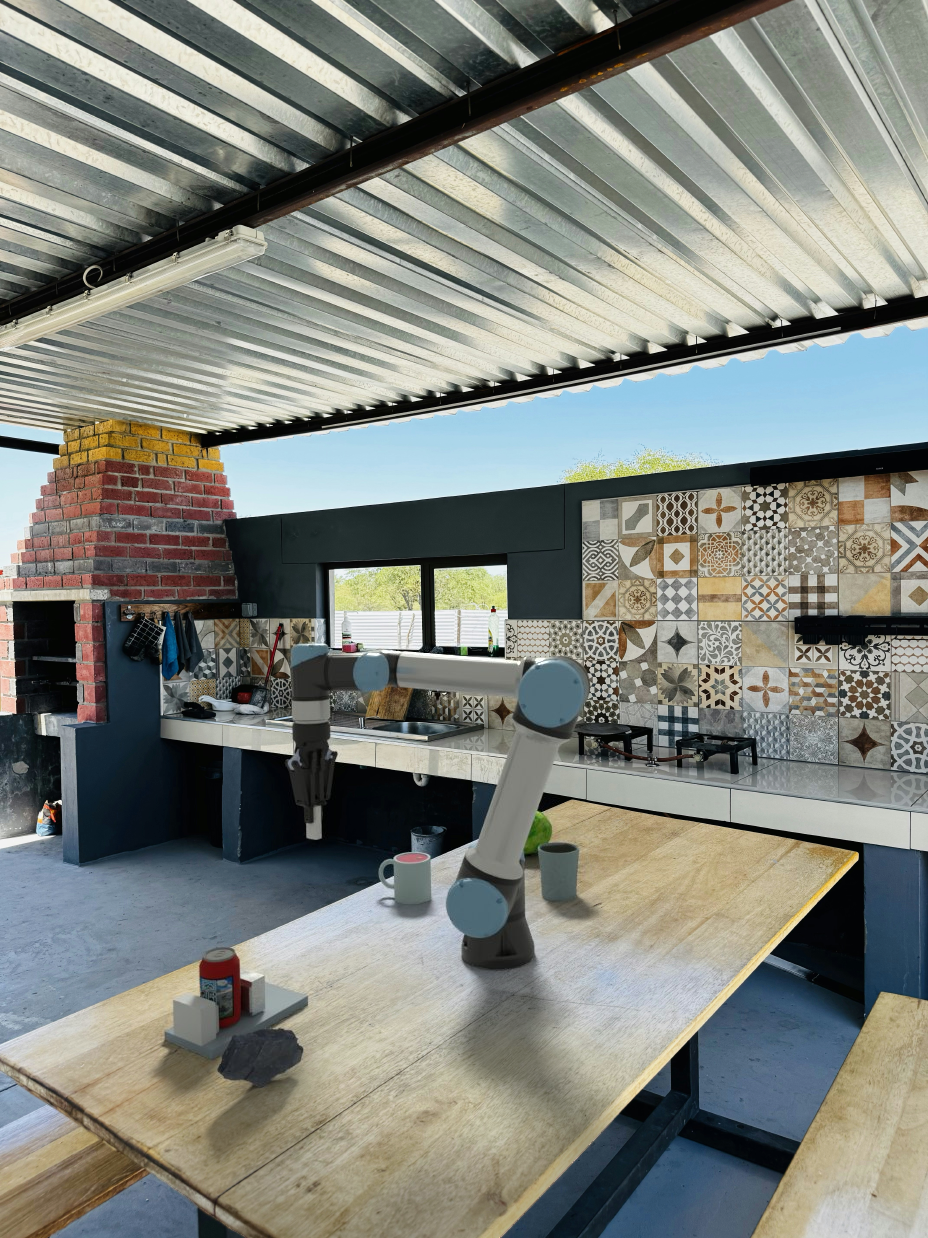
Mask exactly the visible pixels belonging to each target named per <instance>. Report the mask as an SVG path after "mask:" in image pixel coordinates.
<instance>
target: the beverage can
mask: <svg viewBox="0 0 928 1238" xmlns="http://www.w3.org/2000/svg"><path fill="white" fill-rule="evenodd" d="M240 960H241V959H240V957H239V956H238V955H237V953H236V950H235V948H232V947H228V946H220V947H215V948H211V949H208V950H207V951H205V952H204V953H203V954H202V958H201V961H200V962H199V964H198V969H199V970H198V974H199V975H198V976H199V997H202V998H205V999H208V1000H210V1001H213V1002H215V1005H218V1011H219V1029H224V1028H227V1027H230V1026H232V1025H233V1024H234V1023H235V1022H237V1021H238V1020H239V1019H240V1017H241V984H240V968H241V965H240V964H241V962H240Z"/></svg>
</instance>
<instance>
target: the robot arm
mask: <svg viewBox="0 0 928 1238" xmlns="http://www.w3.org/2000/svg"><path fill="white" fill-rule="evenodd" d="M290 650H291V651H290V665H289V668H290V681H291V683H290V684H291V718H292V719H291V720H293V721H294V722H293V723H292V724H291V725H292V727H291V730H292V731H291V733H292V740H293V742H294V743H295V747H294V751H293V756H292V757H291V758H290V759H286V760H285V762H284V765H285V767H286V768H287V770H288V773H289V778H290V782H291V783H290V784H291V787H292V792H293V796H294V800H295V804H296V806H301V807H303V813H304V814H303V815H304V823H305V825H306V828H305V829H306V834H305V835H306V839H309V840H314V841H315V840H320V839H323V838H322V837H323V836H322V820H323V815H324V814H323V806H326V805H327V803H328V800H329V799H330V797H331V794H332V792H331V791H332V787H333V786H332V785H333V777H334V770H335V762H336V760H337V758H338V755H339V754H338V751H337V750H332V749H331V748H330V744H329V742H328V741H329V740H330V739H331V736H332V735H331V722H330V721H329V719H330V718H331V700H330V699H331V698H330V692H363V693H370V692H372V693H373V692H381V691H383V690H385V688H386V687H393V688H396V687H397V688H410V689H418V690H428V691H429V690H430V691H439V692H448V693H449V692H450V693H459V694H460V693H461V694H472V695H479V696H491V697H503V698H514V699H517V701H516V704H515V707H514V710H513V713H512V717H511V721H512V724H513V725H514V727H515V732H514V736H513V738H512V741H511V745H510V747H509V750H508V752H507V755H506V757H505V762H504V764H503V768H502V769H501V774H500V775H499V779H498V781H497V785H496V787H495V790H494V792H493V796H492V799H491V802H490V805H489V807H488V811H487V813H486V816H485V818H484V822H483V826H482V828H481V831H480V834H479V837H478V840H477V842H473V843H471V844H470V845H469V846H468V848H467V849H466V851H465V853H464V856H463V858H462V860H461V864H460V867H459V870H458V873H457V875H456V878H455V881H454V883H453V884H452V885H451V886H450V887H449V889H448V891H447V894H446V900H445V910H446V914H447V916H448V918H449V920H450V922H451V924H452V925H453V926H454V927H455V928H456V929H457V930H458V931H459V932H460V933H462V934H463V937H462V940H461V944H460V945H461V950H460V951H461V958H462V959H463V961H465V963H467V964H469V965H470V966H473V967H475V968H479V969H483V970H491V971H492V970H493V971H498V970H500V971H501V970H502V971H503V970H512V969H516V968H517V969H518V968H520V967H523V966H525V965H527V964H529V963H531V962H532V961H533V959H534V958H535V952H536V951H535V942H534V939H533V935H532V933H531V930H530V927H529V923H528V921H527V918H526V888H525V887H526V886H525V885H526V883H525V882H526V881H525V878H526V877H525V862H526V859H525V854H524V851H523V848H524V846H525V843H526V840H527V837H528V834H529V831H530V829H531V826H532V823H533V820H534V817H535V814H536V811H538V809H539V806H540V805H539V804H540V802H541V800H542V797H543V794H544V791H545V788H546V785H547V783H548V780H549V777H550V774H551V772H552V768H553V766H554V763H555V760H556V757H557V754H558V751H559V748H560V747H561V745H562V744H566V743H567V742H569V741H571V739H572V737H573V733H574V731H575V729H576V728H575V727H576V726H577V722H578V720H579V716H580V714H581V711H582V709H583V706H584V705H585V703H586V702H587V701H588V698H589V696H590V693H591V680H590V676H589V673H588V671H587V669H586V668H585V667H584V666H583V665H582V663H581V662H579V661H578V660H576V659H574V658H572V657H570V656H564V655H555V656H547V657H546V656H542V657H541V656H540V657H539V656H524V657H522V659H521V660H511V659H499V658H487V657H475V656H474V657H473V656H472V657H471V656H462V655H450V654H449V655H448V654H437V653H424V652H413V651H399V650H397V651H396V650H392V649H389V648H377V649H374V650H373V649H372V650H369V651H368V650H367V651H362V652H356V653H349V652H348V653H332V652H331V653H330V650H329V645H328V644H326V643H298V644H295V645H293V646H292V647H291V649H290ZM326 800H327V801H326Z"/></svg>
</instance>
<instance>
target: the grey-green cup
mask: <svg viewBox="0 0 928 1238" xmlns="http://www.w3.org/2000/svg"><path fill="white" fill-rule="evenodd" d="M537 853H538V859H539V870H540V884H541V885H540V886H541V896H542V898H543V899H545V900H547V901H551V902H557V903H558V902H559V903H560V902H563V903H564V902H570V901H572V900H574V899H575V898H576V897H577V892H578V889H577V886H578V872H579V871H578V869H579V859H580V858H579V855H580V847H579V846H578V845H576V844H575V843H570V842H564V841H563V842H560V841H557V842H556V841H555V842H548V843H545V844H542V845H540V846H539V847H538V851H537Z"/></svg>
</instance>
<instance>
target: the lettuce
mask: <svg viewBox="0 0 928 1238" xmlns="http://www.w3.org/2000/svg"><path fill="white" fill-rule="evenodd" d="M552 834H553V825H552V824H551V822H550V820H549V819H548V817H547V816H546V815H545V814H544V813H543V812H541V811H539V810H537V811H536V814H535V817H534V820H533V823H532V826H531V829H530V831H529V834H528V837H527V840H526V843H525V846H524V848H523V851H524V855H531V854H534V853H536V852H537V853H538V847H539V846H540V845H542V844H545V843H550V840H551V838H552Z"/></svg>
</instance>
